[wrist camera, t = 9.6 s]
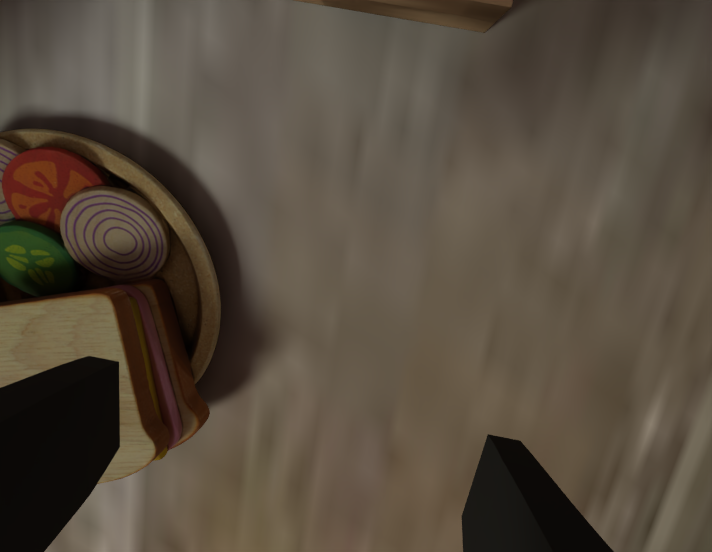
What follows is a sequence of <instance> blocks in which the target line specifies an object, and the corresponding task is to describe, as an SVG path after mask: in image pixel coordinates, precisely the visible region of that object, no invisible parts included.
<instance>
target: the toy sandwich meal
mask: <svg viewBox="0 0 712 552" xmlns="http://www.w3.org/2000/svg"><path fill="white" fill-rule="evenodd" d="M220 318H221V301H220V292H219V286H218V280H217V276H216V272H215V268H214V265H213V262H212V259H211V257H210V254H209V252H208V249H207V247H206V245H205V243H204V241H203V239H202V237H201V235H200V233H199V231H198V230H197V228H196V226H195V225H194V223H193V221H192V220H191V218H190V217H189V215H188V214H187V213H186V211H185V210H184V208H183V207H182V206H181V205H180V204H179V202H178V201H177V200H176V199H175V198H174V196H173V195H172V194H171V193H170V192H169V191H168V190H167V189H166V188H165V187H164V186H163V185H162V184H161V183H160V182H159V181H158V180H157V179H156V178H155V177H153V176H152V175H151V174H150V173H148V172H147V171H146V170H145V169H143V168H142V167H141V166H139V165H138V164H136V163H135V162H134V161H132V160H131V159H129V158H127V157H126V156H124V155H122V154H121V153H119V152H117V151H115V150H113V149H111V148H109V147H107V146H105V145H103V144H100V143H98V142H96V141H93V140H91V139H88V138H84V137H81V136H78V135H75V134H71V133H66V132H62V131H55V130H48V129H18V130H10V131H6V132H0V388H1V387H4V386H6V385H9V384H12V383H14V382H17V381H20V380H22V379H25V378H27V377H30V376H33V375H35V374H38V373H40V372H43V371H46V370H48V369H51V368H54V367H57V366H59V365H62V364H65V363H68V362H71V361H74V360H77V359H80V358H83V357H87V356H93V357H98V358H103V359H108V360H113V361H118V362H119V399H120V448H119V449H118V451H117V453H116V454H115V456H114V458H113V459H112V461H111V462H110V464H109V466H108V467H107V469H106V471H105V472H104V474H103V475H102V477H101V478H100V480H99V481H98V483H97V484H99V483H104V482H109V481H113V480H117V479H121V478H124V477H126V476H129V475H131V474H133V473H135V472H137V471H139V470H141V469H142V468H144V467H146V466H147V465H148V464H149V463H151V462H152V461H153V460H160V459H162V458H163V457H164V456H165V455H166V453H167V451H168V450H169V449H172V448H174V447H176V446H178V445H180V444H182V443H183V442H185V441H187V440H188V439H189V438H191V437H192V436H193V435H194V434H195V433H196V432H197V431H198V430H199V429H200V428H201V427H202V426H203V425H204V423H205V422H206V421H207V419H208V417H209V414H210V411H209V408H208V406H207V404H206V403H205V402H204V400H203V399H202V398H201V397H200V396H199V394H198V392H197V390H196V387H195V384H196V383H197V382H198V381H199V379H200V378H201V377H202V375H203V374H204V372H205V370H206V368H207V367H208V365H209V363H210V361H211V358H212V356H213V353H214V350H215V347H216V344H217V339H218V335H219V329H220Z"/></svg>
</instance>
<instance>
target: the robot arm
mask: <svg viewBox="0 0 712 552" xmlns="http://www.w3.org/2000/svg"><path fill="white" fill-rule="evenodd" d="M119 448H120V399H119V362H118V361H113V360H108V359H103V358H98V357H93V356H87V357H83V358H80V359H77V360H74V361H71V362H68V363H65V364H62V365H59V366H57V367H54V368H51V369H48V370H46V371H43V372H40V373H38V374H35V375H33V376H30V377H27V378H25V379H22V380H20V381H17V382H14V383H12V384H9V385H6V386H4V387H1V388H0V552H44V551H45V550H46V549H47V547H48V546H49V545H50V544H51V543H52V541H53V540H54V539H55V538H56V536H57V535H58V534H59V533H60V531H61V530H62V529H63V528H64V527H65V525H66V524H67V523H68V522H69V520H70V519H71V518H72V517H73V515H74V514H75V513H76V512H77V510H78V509H79V508H80V507H81V505H82V504H83V503H84V502H85V500H86V499H87V498H88V496H89V495H90V494H91V492H92V491H93V489H94V488H95V486H96V485H97V483H98V481H99V480H100V478H101V477H102V475H103V474H104V472H105V471H106V469H107V467H108V466H109V464H110V462H111V461H112V459H113V458H114V456H115V454H116V453H117V451H118V449H119ZM462 533H463V552H614V551H613V550H612V549H611V548H610V547H609V546H608V545H607V544H606V542H605V541H604V540H603V539H602V538H601V537H600V536H599V534H598V533H597V532H596V531H595V530H594V529H593V527H592V526H591V525H590V524H589V523H588V522H587V520H586V519H585V518H584V517H583V516H582V515H581V513H580V512H579V511H578V510H577V509H576V507H575V506H574V505H573V504H572V503H571V501H570V500H569V499H568V498H567V497H566V495H565V494H564V493H563V492H562V490H561V489H560V488H559V487H558V486H557V484H556V483H555V482H554V481H553V479H552V478H551V477H550V476H549V475H548V473H547V472H546V471H545V470H544V468H543V467H542V466H541V465H540V464H539V462H538V461H537V460H536V459H535V457H534V456H533V455H532V454H531V453H530V452H529V450H528V449H527V448H526V447H525V446H524V445H523V443H522V442H521V441H518V440H513V439H508V438H503V437H498V436H493V435H488V436H487V439H486V442H485V445H484V448H483V451H482V455H481V458H480V461H479V464H478V467H477V470H476V473H475V477H474V480H473V483H472V486H471V489H470V492H469V495H468V498H467V502H466V505H465V508H464V511H463V514H462Z"/></svg>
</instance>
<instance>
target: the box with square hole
mask: <svg viewBox="0 0 712 552" xmlns="http://www.w3.org/2000/svg"><path fill="white" fill-rule="evenodd" d="M295 1H301V2H307V3H313V4H319V5H325V6H330V7H336V8H342V9H348V10H354V11H360V12H366V13H372V14H377V15H383V16H389V17H395V18H401V19H407V20H413V21H419V22H425V23H430V24H436V25H442V26H448V27H454V28H460V29H466V30H472V31H477V32H483V33H485V32H486V31H487V30H488V29H489V28H490V27H491V26H492V25H493V24H494V23H495V22H496V21H497V20H498V19H499V18H500V17H502V16H503V15H504V14H505V13H506V12H507V11H508V10H509V9H510V8H511V6H512V2H513V0H295Z"/></svg>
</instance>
